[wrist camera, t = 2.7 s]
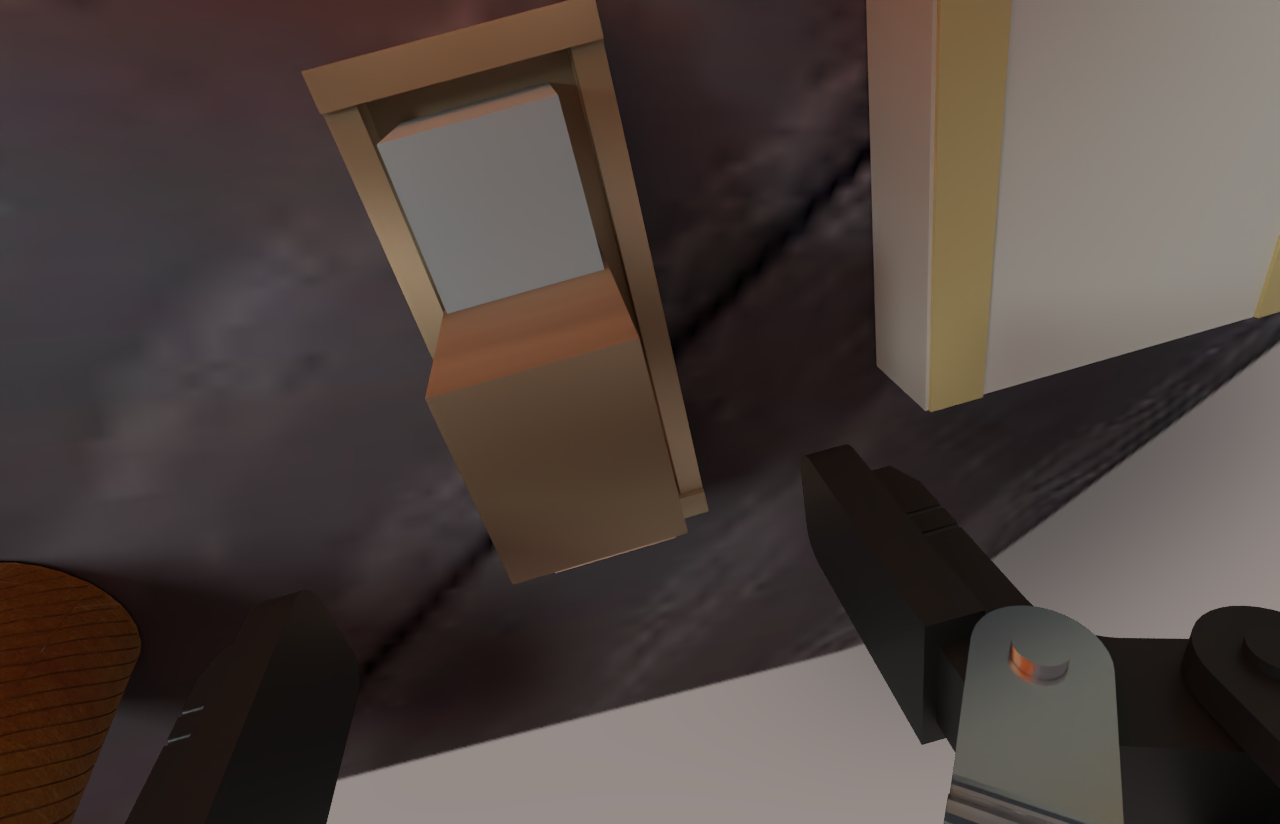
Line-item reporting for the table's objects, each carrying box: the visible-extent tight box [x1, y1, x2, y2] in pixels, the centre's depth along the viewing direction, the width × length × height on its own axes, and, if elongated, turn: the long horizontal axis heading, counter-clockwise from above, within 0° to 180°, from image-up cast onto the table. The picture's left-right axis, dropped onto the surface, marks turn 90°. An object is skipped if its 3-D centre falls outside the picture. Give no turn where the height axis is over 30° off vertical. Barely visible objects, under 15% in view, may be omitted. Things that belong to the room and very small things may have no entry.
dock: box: [866, 0, 1280, 412], centre depth 17 cm, size 12×12×3 cm
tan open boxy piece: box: [301, 0, 709, 585], centre depth 15 cm, size 14×6×8 cm, turn 13°
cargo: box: [377, 82, 604, 314], centre depth 14 cm, size 3×3×3 cm
